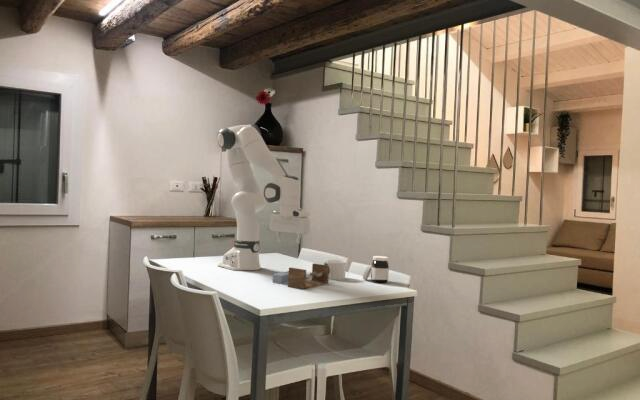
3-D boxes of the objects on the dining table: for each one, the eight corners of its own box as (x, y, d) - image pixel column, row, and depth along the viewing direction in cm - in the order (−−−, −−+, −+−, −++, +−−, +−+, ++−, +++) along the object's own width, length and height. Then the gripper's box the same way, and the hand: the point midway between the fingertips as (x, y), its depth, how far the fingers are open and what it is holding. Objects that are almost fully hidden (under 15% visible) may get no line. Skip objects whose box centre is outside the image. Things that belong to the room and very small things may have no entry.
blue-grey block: (281, 284, 228) (281, 275, 228) (272, 283, 231) (272, 274, 230) (300, 280, 239) (300, 272, 239) (291, 279, 242) (292, 270, 242)
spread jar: (389, 284, 239) (390, 258, 239) (365, 283, 239) (366, 257, 238) (384, 279, 251) (385, 255, 251) (361, 278, 251) (362, 254, 250)
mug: (350, 279, 247) (350, 262, 247) (331, 280, 241) (332, 263, 241) (333, 274, 258) (334, 258, 258) (315, 275, 252) (316, 259, 252)
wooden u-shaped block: (303, 289, 218) (304, 270, 218) (288, 286, 223) (288, 267, 222) (328, 283, 234) (329, 265, 234) (313, 280, 238) (314, 263, 238)
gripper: (267, 210, 237) (266, 241, 238) (303, 213, 226) (302, 245, 226) (276, 210, 243) (274, 240, 243) (312, 213, 231) (311, 244, 231)
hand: (288, 242), depth 234 cm, fingers open, 8 cm apart
